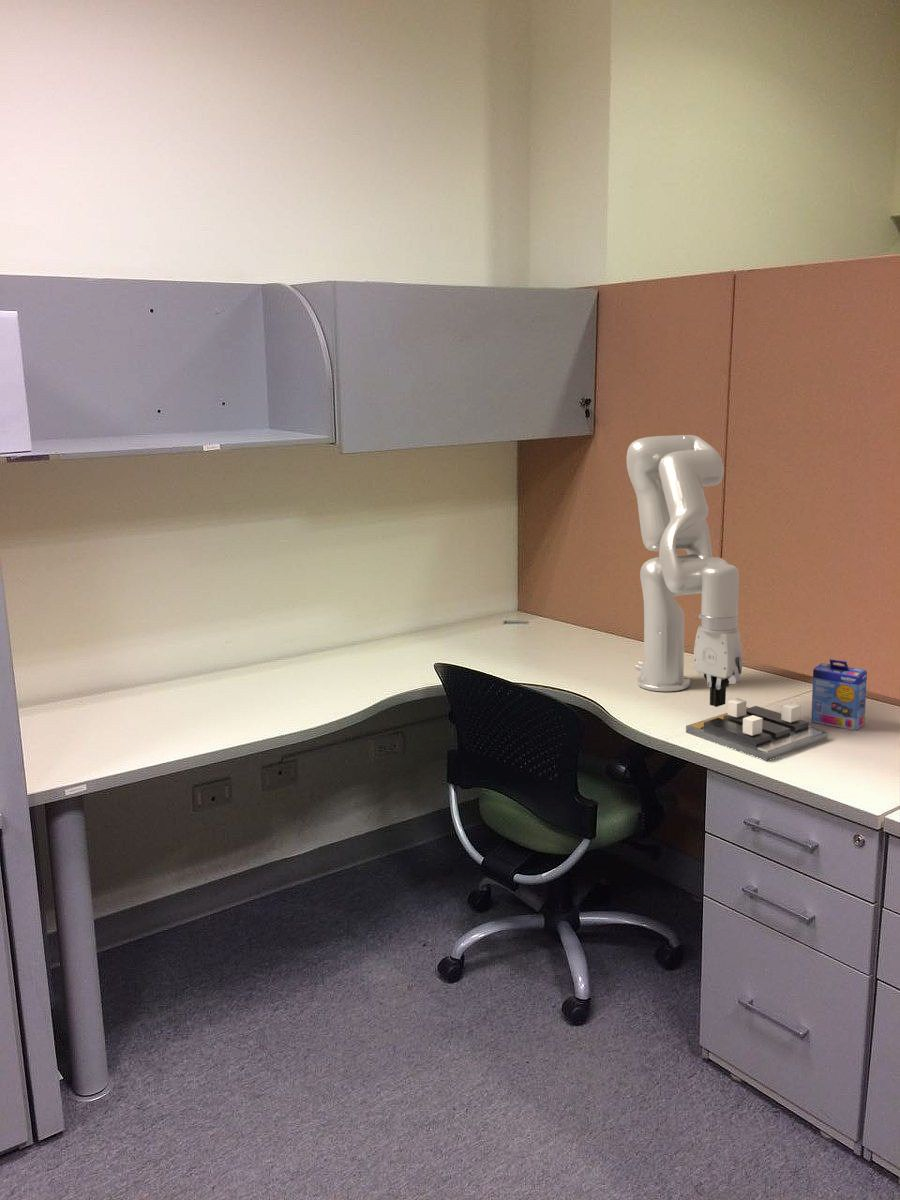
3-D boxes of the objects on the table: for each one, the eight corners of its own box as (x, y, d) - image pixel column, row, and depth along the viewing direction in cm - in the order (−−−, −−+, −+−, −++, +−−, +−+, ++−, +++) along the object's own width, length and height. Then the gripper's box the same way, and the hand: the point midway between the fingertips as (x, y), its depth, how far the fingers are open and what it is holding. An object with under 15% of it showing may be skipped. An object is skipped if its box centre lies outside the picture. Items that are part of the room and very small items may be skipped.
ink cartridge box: (809, 722, 217) (812, 658, 214) (818, 715, 221) (821, 651, 218) (856, 731, 211) (860, 665, 208) (865, 724, 215) (868, 658, 212)
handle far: (781, 719, 210) (781, 705, 209) (790, 716, 212) (791, 702, 211) (790, 722, 208) (791, 708, 207) (800, 719, 210) (800, 705, 209)
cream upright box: (742, 732, 204) (742, 718, 203) (752, 729, 205) (752, 715, 204) (752, 735, 202) (752, 721, 201) (762, 732, 203) (762, 718, 203)
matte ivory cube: (727, 714, 214) (727, 701, 213) (737, 711, 216) (737, 698, 215) (736, 717, 212) (736, 703, 211) (746, 714, 214) (746, 700, 213)
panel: (686, 732, 214) (686, 719, 213) (745, 713, 224) (746, 700, 224) (766, 761, 197) (767, 746, 196) (827, 739, 207) (828, 725, 206)
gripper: (680, 619, 218) (679, 700, 222) (735, 632, 206) (733, 717, 210) (704, 613, 222) (703, 693, 226) (759, 625, 210) (756, 709, 214)
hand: (717, 704), depth 218 cm, fingers closed
